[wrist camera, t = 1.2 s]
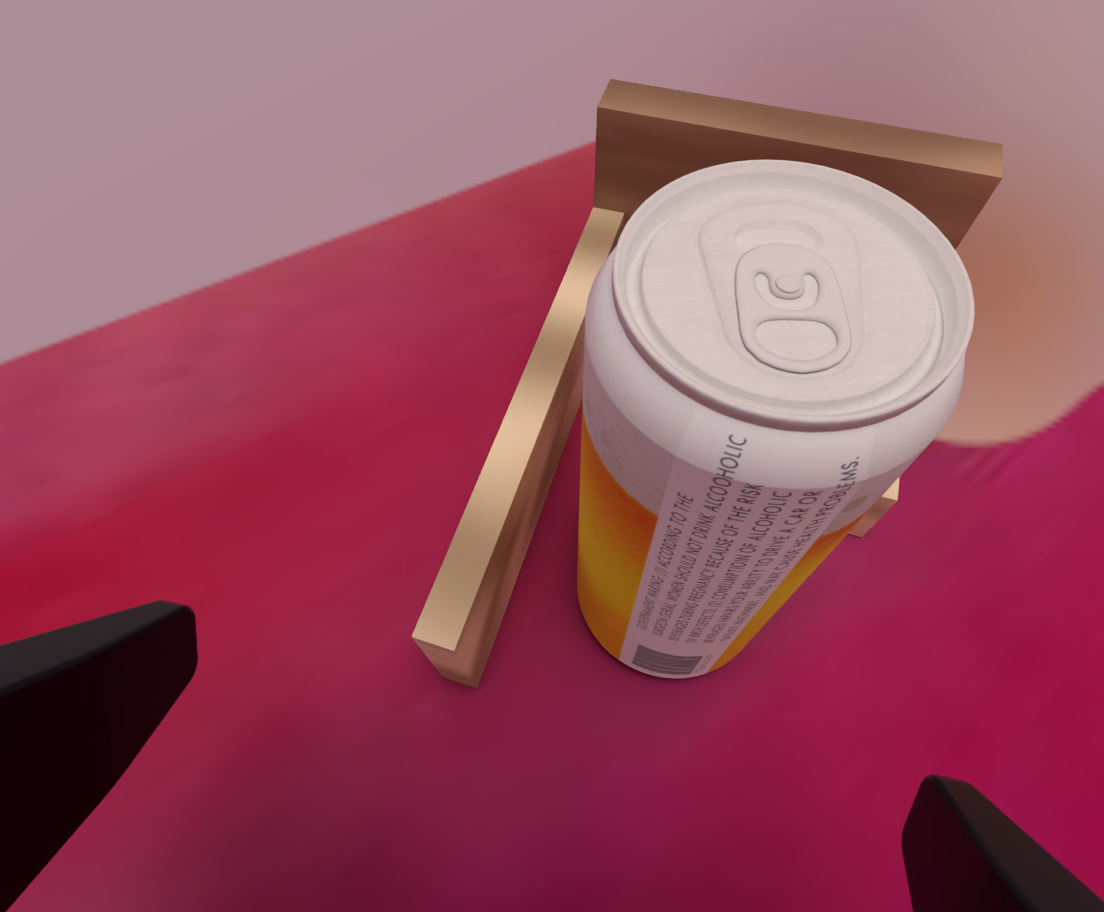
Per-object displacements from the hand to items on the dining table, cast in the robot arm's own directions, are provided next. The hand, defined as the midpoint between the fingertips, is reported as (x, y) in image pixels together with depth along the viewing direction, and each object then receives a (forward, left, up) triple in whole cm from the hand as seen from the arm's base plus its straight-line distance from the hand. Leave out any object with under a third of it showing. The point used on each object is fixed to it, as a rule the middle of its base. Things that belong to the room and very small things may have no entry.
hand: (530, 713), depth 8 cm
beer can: (+1, -7, -14) cm, 16 cm away
